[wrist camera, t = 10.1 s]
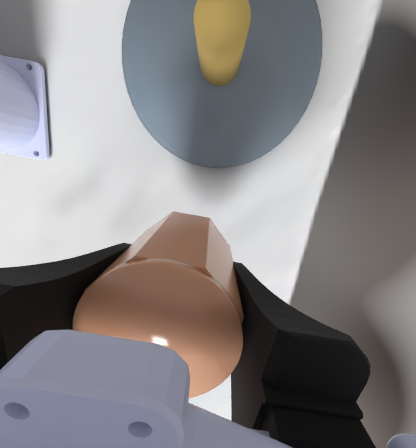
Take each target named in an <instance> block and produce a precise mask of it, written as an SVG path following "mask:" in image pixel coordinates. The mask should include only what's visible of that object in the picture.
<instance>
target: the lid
mask: <svg viewBox="0 0 416 448" xmlns="http://www.w3.org/2000/svg"><path fill="white" fill-rule="evenodd" d="M248 1H249V4H250V10H251V21H250V26H249V30H248V34H247V38H246V42H245V46H244V50H243V54H242V58H241V62H240V66H239V70H238V72H237V75H236V76H235V78H234V79H233V80H232V81H231V82H230V83H228V84H226V85H223V86H215V85H212V84H210V83H209V82H208V81H207V80H206V79H205V78H204V76H203V75H202V72H201V69H200V62H199V55H198V48H197V41H196V34H195V27H194V9H195V5H196V2H197V0H131V2H130V5H129V8H128V11H127V14H126V19H125V24H124V29H123V38H122V65H123V72H124V79H125V83H126V87H127V91H128V94H129V97H130V99H131V102H132V105H133V107H134V109H135V111H136V113H137V115H138V117H139V119H140V120H141V122H142V123H143V125H144V126H145V128H146V129H147V130H148V132H149V133H150V134H151V135H152V137H153V138H154V139H155V140H156V141H157V142H158V143H159V144H160V145H162V146H163V147H164V148H165V149H167V150H168V151H169V152H171V153H172V154H174V155H175V156H177V157H179V158H181V159H183V160H185V161H188V162H190V163H193V164H196V165H200V166H204V167H214V168H222V167H232V166H238V165H241V164H245V163H248V162H251V161H253V160H255V159H257V158H259V157H261V156H263V155H264V154H266V153H268V152H269V151H271V150H272V149H273V148H275V147H276V146H277V145H278V144H280V143H281V142H282V141H283V140H284V139H285V138H286V137H287V136H288V135H289V134H290V132H291V131H292V130H293V129H294V127H295V126H296V125H297V123H298V122H299V120H300V119H301V117H302V116H303V114H304V112H305V111H306V109H307V106H308V104H309V102H310V100H311V98H312V95H313V92H314V90H315V87H316V84H317V80H318V75H319V71H320V66H321V57H322V29H321V20H320V15H319V11H318V7H317V3H316V0H248Z"/></svg>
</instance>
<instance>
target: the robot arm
mask: <svg viewBox="0 0 416 448" xmlns="http://www.w3.org/2000/svg"><path fill="white" fill-rule="evenodd" d="M31 66H32V70H30V67H31ZM37 152H39V156H38V155H37ZM0 153H6V154H12V155H18V156H23V157H29V158H35V159H41V160H47V159H49V157H50V153H49V137H48V122H47V106H46V91H45V75H44V68H43V66H42V65H41V64H39V63H37V62H35V61H30V60H25V59H19V58H14V57H8V56H3V55H0ZM131 245H132V244H127V243H122V244H118V245H114V246H111V247H108V248H105V249H102V250H99V251H96V252H92V253H89V254H85V255H82V256H78V257H74V258H70V259H66V260H61V261H56V262H50V263H43V264H36V265H29V266H20V267H9V268H0V448H376V447H375V445H374V444H373V442H372V440H371V438H370V437H369V435H368V433H367V431H366V430H365V428H364V426H363V425H362V423H361V421H360V419H362V418H363V413H362V411H361V409H360V408H359V406H358V404H357V403H356V401H357V399H358V397H359V395H360V394H361V392H362V390H363V388H364V387H365V385H366V383H367V381H368V378H369V376H370V363H369V361H368V358H367V357H366V355H365V354H364V353H363V352H362V350H361V349H360V348H359V347H358V346H357V344H356V343H355V341H354V340H353V339H352V338H351V337H350V336H349V335H347V334H345V333H342V332H340V331H338V330H335V329H333V328H331V327H329V326H326V325H324V324H322V323H320V322H318V321H316V320H314V319H312V318H310V317H308V316H307V315H305V314H303V313H301V312H300V311H298V310H296V309H295V308H293V307H292V306H290V305H288V304H287V303H285V302H284V301H283V300H281V299H280V298H279V297H277V296H276V295H275V294H273V293H272V292H271V291H270V290H268V289H267V288H266V287H265V286H264V285H263V284H262V283H261V282H260V281H259V280H258V279H257V278H256V277H255V276H254V275H253V274H252V273H251V272H250V271H249V270H248V269H247V268H246V267H245V266H244V265H243V264H242V263H237V262H233V266H234V270H235V275H236V280H237V285H238V290H239V295H240V300H241V305H242V310H243V315H244V318H243V322H242V325H241V326H242V333H243V348H242V353H241V356H240V359H239V361H238V364H237V365H236V367H235V369H234V370H233V372H232V373H231V401H232V421H230V420H228V419H225V418H223V417H221V416H218V415H216V414H214V413H211V412H209V411H207V410H204V409H202V408H200V407H197V406H195V405H193V404H190V403H188V398H189V389H190V374H189V367H188V364H187V363H186V362H185V361H184V360H183V359H182V358H181V357H180V356H179V355H178V354H177V353H176V351H174V350H172V349H169V348H167V347H164V346H161V345H159V344H155V343H149V342H143V341H137V340H131V339H124V338H118V337H112V336H106V335H100V334H93V333H87V332H81V331H75V330H73V316H74V312H75V309H76V306H77V304H78V302H79V300H80V298H81V297H82V295H83V294H84V290H85V289H86V288H87V287H88V286H89V285H90V284H91V283H92V282H93V281H94V280H95V279H96V278H98V277H99V276H100V275H101V274H102V273H103V272H104V271H105V270H106V269H107V268H108V267H109V266H110V265H111V264H112V263H113V262H114V261H115V260H116V259H117V258H118V257H119V256H120V255H121V254H122V253H123V252H124V251H125V250H127V249H128V248H129V247H130V246H131ZM386 448H416V435H410V434H398V435H395V436H393V437H392V438H391V439H390V440H389V441H388V443H387V445H386Z"/></svg>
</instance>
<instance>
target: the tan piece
mask: <svg viewBox="0 0 416 448" xmlns="http://www.w3.org/2000/svg"><path fill="white" fill-rule="evenodd" d="M243 318H244V315H243V310H242V305H241V300H240V295H239V290H238V285H237V280H236V275H235V270H234V266H233V260H232V255H231V250H230V246H229V244H228V243H227V241H226V240H225V239H224V237H223V236H222V234H221V233H220V232H219V230H218V229H217V228H216V226H215V225H214V223H213V222H212V221H211V219H210V218H207V217H201V216H196V215H190V214H185V213H179V212H172V213H171V214H169V215H168V216H166V217H165V218H163V219H162V220H161V221H159V222H158V223H156V224H155V225H154V226H152V227H151V228H149V229H148V230H146V231H145V232H144V233H143V234H142V235H141V236H140V237H139V238H138V239H137V240H136V241H135V242H134V243H133V244H132V245H131V246H130V247H129V248H128V249H127V250H125V251H124V252H123V253H122V254H121V255H120V256H119V257H118V258H117V259H116V260H115V261H114V262H113V263H112V264H111V265H110V266H109V267H108V268H107V269H106V270H105V271H104V272H103V273H102V274H101V275H100V276H99V277H98V278H96V279H95V280H94V281H93V282H92V283H91V284H90V285H89V286H88V287H87V288H86V289H85V290H84V294H83V295H82V297H81V298H80V300H79V302H78V304H77V306H76V309H75V312H74V316H73V330H75V331H81V332H87V333H93V334H100V335H106V336H112V337H118V338H124V339H131V340H137V341H143V342H149V343H155V344H159V345H161V346H164V347H167V348H169V349H172V350H174V351H176V353H177V354H178V355H179V356H180V357H181V358H182V359H183V360H184V361H185V362H186V363H187V364H188V367H189V374H190V389H189V398H192V397H195V396H199V395H201V394H204V393H206V392H208V391H210V390H212V389H214V388H215V387H217V386H218V385H220V384H221V383H222V382H223V381H224V380H225V379H227V378H228V377H229V375H230V374H231V373H232V372H233V370H234V369H235V367H236V365H237V364H238V361H239V359H240V356H241V353H242V348H243V333H242V326H241V325H242V322H243Z"/></svg>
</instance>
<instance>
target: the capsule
mask: <svg viewBox="0 0 416 448" xmlns="http://www.w3.org/2000/svg"><path fill="white" fill-rule="evenodd" d="M250 21H251V10H250V4H249V1H248V0H197V2H196V5H195V9H194V27H195V34H196V41H197V48H198V55H199V62H200V69H201V72H202V75H203V76H204V78H205V79H206V80H207V81H208V82H209V83H210V84H212V85H215V86H223V85H226V84H228V83H230V82H231V81H232V80H233V79H234V78H235V76H236V75H237V72H238V70H239V66H240V62H241V58H242V54H243V50H244V46H245V42H246V38H247V34H248V30H249V26H250Z"/></svg>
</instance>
